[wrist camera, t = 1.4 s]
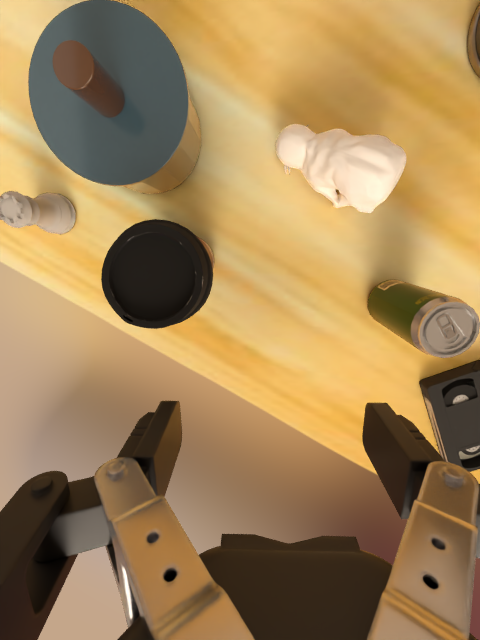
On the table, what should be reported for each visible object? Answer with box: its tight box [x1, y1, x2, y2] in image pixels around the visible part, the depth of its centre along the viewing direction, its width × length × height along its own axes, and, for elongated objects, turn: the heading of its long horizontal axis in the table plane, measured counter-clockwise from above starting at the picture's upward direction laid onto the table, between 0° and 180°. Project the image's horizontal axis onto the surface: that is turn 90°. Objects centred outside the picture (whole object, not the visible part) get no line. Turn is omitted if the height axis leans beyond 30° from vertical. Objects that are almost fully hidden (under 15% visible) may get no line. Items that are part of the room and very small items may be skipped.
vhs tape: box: [419, 360, 480, 472], centre depth 40 cm, size 14×8×2 cm, turn 23°
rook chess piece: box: [0, 191, 75, 234], centre depth 32 cm, size 4×4×8 cm
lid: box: [28, 0, 189, 186], centre depth 22 cm, size 12×12×6 cm
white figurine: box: [276, 124, 406, 213], centre depth 30 cm, size 6×8×12 cm
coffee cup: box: [101, 219, 214, 329], centre depth 30 cm, size 8×8×15 cm
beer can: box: [368, 280, 480, 358], centre depth 32 cm, size 5×5×12 cm
